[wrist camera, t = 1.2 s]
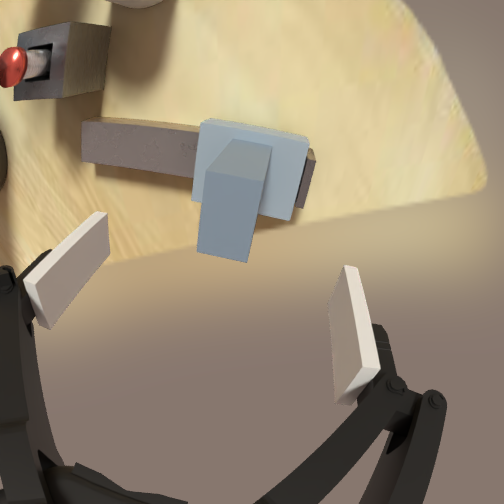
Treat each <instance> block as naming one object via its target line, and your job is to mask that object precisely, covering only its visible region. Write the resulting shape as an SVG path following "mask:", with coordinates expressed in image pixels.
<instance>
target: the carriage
mask: <svg viewBox="0 0 504 504" xmlns="http://www.w3.org/2000/svg"><path fill="white" fill-rule="evenodd" d="M309 144H310V143H309V140H308V139H307V137H305V136H301V135H296V134H292V133H288V132H283V131H278V130H274V129H269V128H264V127H259V126H254V125H248V124H243V123H237V122H231V121H225V120H219V119H213V118H210V119H208V120H205V121H203V122H201V124H200V131H199V139H198V146H197V154H196V162H195V171H194V180H193V189H192V199H191V201H196V202H201V203H202V205H201V214H200V223H199V233H198V243H197V252H199V253H204V254H209V255H213V256H218V257H223V258H227V259H232V260H236V261H241V262H246V263H247V260H248V256H249V251H250V247H251V242H252V238H253V234H254V229H255V225H256V220H257V216H258V214H260V215H264V216H269V217H274V218H278V219H283V220H287V221H290V218H291V214H292V211H293V207H294V203H295V199H296V195H297V191H298V188H299V184H300V180H301V176H302V172H303V168H304V164H305V160H306V156H307V152H308V148H309Z"/></svg>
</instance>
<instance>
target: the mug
mask: <svg viewBox="0 0 504 504" xmlns="http://www.w3.org/2000/svg"><path fill="white" fill-rule="evenodd" d="M106 1H109V2H113V3H116V4H119V5H122V6H125V7H129V8H135V9H139V8H146V7H150V6H153V5H155V4H158V3H159V2H161V1H163V0H106Z"/></svg>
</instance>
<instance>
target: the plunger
mask: <svg viewBox="0 0 504 504" xmlns="http://www.w3.org/2000/svg"><path fill="white" fill-rule="evenodd" d="M51 58H52V49H40V50H28V51H25V49H24V48H22V47H10V48H7V49H6V50H5V51H4V52H3V53H2V54H1V56H0V86H2V87H4V88H8V87H12V86H16V85H18V84H19V83H20V82H21V81H22V79H27V78H32V77H38V76H44V75H50V68H51Z"/></svg>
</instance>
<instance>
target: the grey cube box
mask: <svg viewBox="0 0 504 504" xmlns="http://www.w3.org/2000/svg"><path fill="white" fill-rule="evenodd" d="M111 28H112V27H110V26H103V25H96V24H89V23H80V22H66V23H61V24H56V25H51V26H47V27H42V28H38V29H34V30H31V31H27V32H23V33H20V34H19V36H18V43H17V47H22V48H24V49H25V51H28V50H40V49H52V58H51V68H50V75H44V76H38V77H32V78H27V79H22V81H21V82H20V83H19V84H18V85H16V86H14V101H20V100H33V99H50V98H65V97H69V96H73V95H78V94H83V93H88V92H93V91H98V90H103V89H104V81H105V71H106V63H107V55H108V47H109V40H110V34H111Z"/></svg>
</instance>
